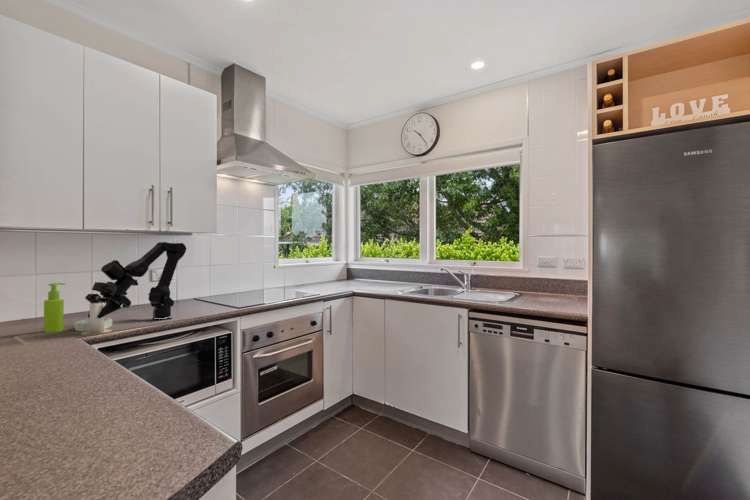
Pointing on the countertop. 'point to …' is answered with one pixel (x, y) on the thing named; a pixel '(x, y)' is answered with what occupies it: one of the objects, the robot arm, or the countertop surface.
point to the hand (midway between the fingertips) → (93, 317)
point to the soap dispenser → (53, 310)
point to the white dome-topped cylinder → (96, 322)
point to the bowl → (85, 324)
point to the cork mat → (96, 333)
